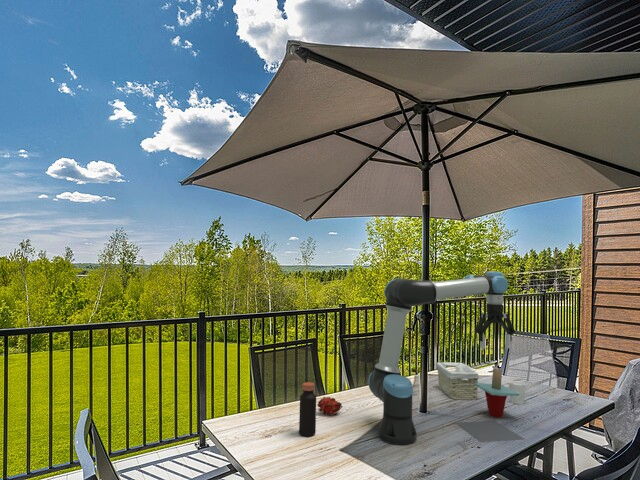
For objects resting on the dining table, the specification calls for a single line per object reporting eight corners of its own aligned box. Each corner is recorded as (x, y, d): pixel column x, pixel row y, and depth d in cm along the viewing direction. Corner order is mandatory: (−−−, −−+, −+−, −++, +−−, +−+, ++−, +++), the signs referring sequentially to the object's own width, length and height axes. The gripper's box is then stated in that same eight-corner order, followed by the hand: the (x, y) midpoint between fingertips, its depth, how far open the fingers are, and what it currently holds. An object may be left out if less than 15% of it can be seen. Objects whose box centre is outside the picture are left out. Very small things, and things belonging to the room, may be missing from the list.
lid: (491, 394, 179) (493, 372, 179) (474, 385, 192) (475, 364, 193) (519, 396, 181) (520, 374, 182) (499, 386, 195) (501, 365, 196)
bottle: (306, 429, 166) (307, 380, 168) (318, 433, 162) (319, 383, 163) (295, 434, 161) (296, 383, 162) (308, 438, 156) (309, 387, 158)
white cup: (526, 401, 208) (525, 382, 209) (524, 405, 202) (524, 386, 202) (509, 398, 212) (509, 380, 213) (507, 402, 206) (507, 383, 207)
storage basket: (480, 401, 208) (480, 372, 209) (450, 400, 208) (449, 372, 209) (463, 387, 232) (462, 362, 233) (435, 387, 232) (435, 361, 233)
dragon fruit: (315, 416, 185) (340, 420, 185) (317, 410, 178) (343, 415, 178) (317, 398, 190) (341, 402, 190) (319, 392, 184) (344, 396, 184)
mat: (480, 443, 156) (480, 442, 156) (454, 423, 176) (454, 422, 176) (525, 440, 160) (525, 439, 160) (494, 421, 179) (494, 420, 179)
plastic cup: (511, 421, 180) (511, 394, 181) (486, 419, 182) (486, 392, 183) (505, 413, 190) (505, 387, 191) (481, 411, 192) (481, 386, 193)
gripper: (475, 304, 184) (476, 350, 182) (522, 304, 189) (523, 349, 187) (467, 302, 191) (467, 346, 190) (512, 303, 196) (513, 346, 194)
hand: (495, 348), depth 188 cm, fingers open, 13 cm apart
